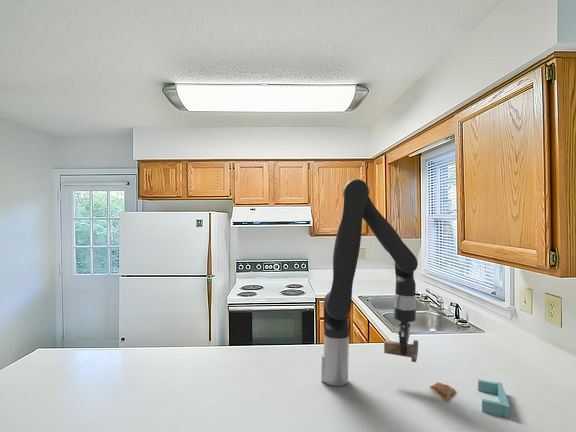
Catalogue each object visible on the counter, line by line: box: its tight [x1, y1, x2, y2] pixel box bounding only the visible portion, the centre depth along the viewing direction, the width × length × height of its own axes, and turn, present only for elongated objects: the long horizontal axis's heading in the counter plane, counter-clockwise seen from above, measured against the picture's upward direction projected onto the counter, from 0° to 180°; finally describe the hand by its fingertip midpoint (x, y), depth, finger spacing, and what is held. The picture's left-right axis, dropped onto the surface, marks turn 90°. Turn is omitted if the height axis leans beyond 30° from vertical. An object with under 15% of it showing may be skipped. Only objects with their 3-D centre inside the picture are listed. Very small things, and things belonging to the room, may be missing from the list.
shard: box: [429, 381, 456, 403], centre depth 129 cm, size 11×8×2 cm
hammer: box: [383, 339, 419, 363], centre depth 135 cm, size 12×10×4 cm
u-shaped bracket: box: [477, 379, 511, 419], centre depth 123 cm, size 8×18×4 cm, turn 157°
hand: (404, 353), depth 135 cm, fingers closed on hammer, 2 cm apart
